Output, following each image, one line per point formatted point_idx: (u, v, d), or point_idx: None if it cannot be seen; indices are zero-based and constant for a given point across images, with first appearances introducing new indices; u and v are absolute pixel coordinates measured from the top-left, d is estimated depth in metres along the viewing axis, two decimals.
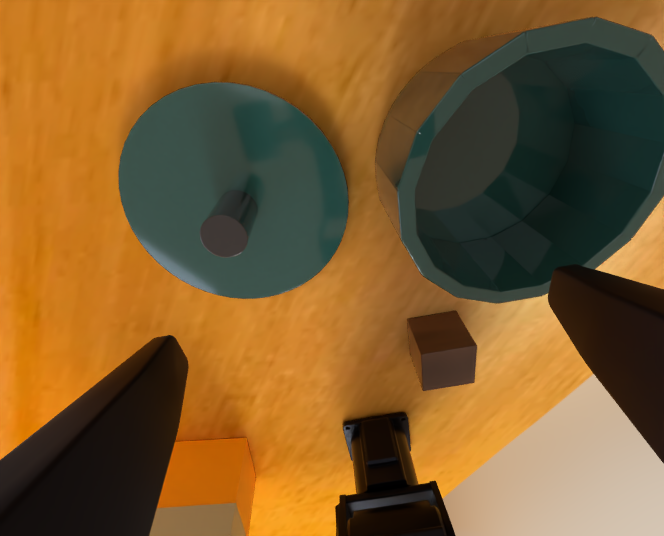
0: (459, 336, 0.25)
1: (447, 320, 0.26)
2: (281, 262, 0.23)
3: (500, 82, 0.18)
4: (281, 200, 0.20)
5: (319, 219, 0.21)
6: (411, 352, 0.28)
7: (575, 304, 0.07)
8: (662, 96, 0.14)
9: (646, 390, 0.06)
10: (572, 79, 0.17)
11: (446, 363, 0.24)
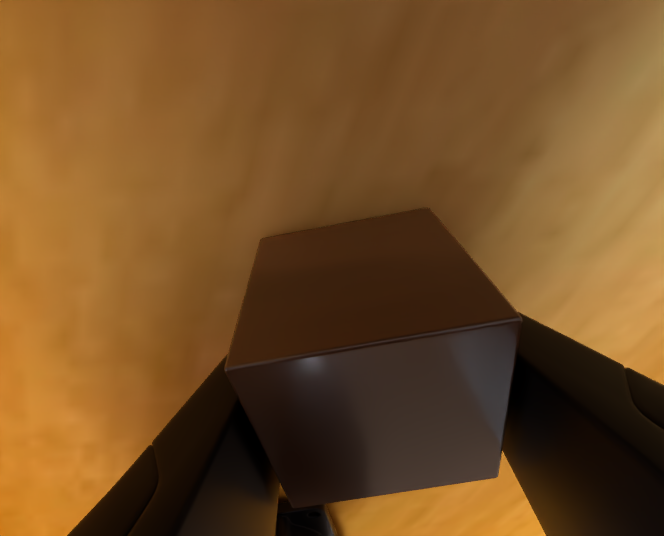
0: (433, 278, 0.05)
1: (394, 232, 0.07)
2: None
3: None
4: None
5: None
6: None
7: None
8: None
9: None
10: None
11: (367, 409, 0.05)
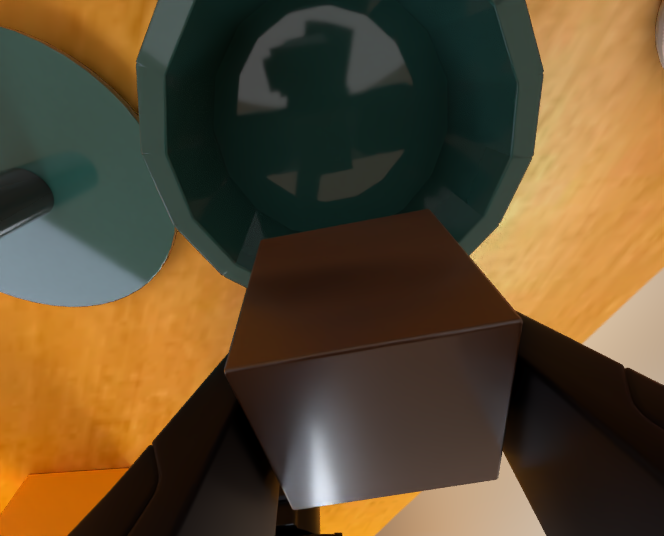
0: (433, 281, 0.05)
1: (394, 233, 0.07)
2: (104, 261, 0.18)
3: (338, 23, 0.14)
4: (80, 181, 0.16)
5: (138, 206, 0.17)
6: None
7: None
8: (494, 8, 0.09)
9: None
10: (422, 14, 0.13)
11: (367, 412, 0.05)
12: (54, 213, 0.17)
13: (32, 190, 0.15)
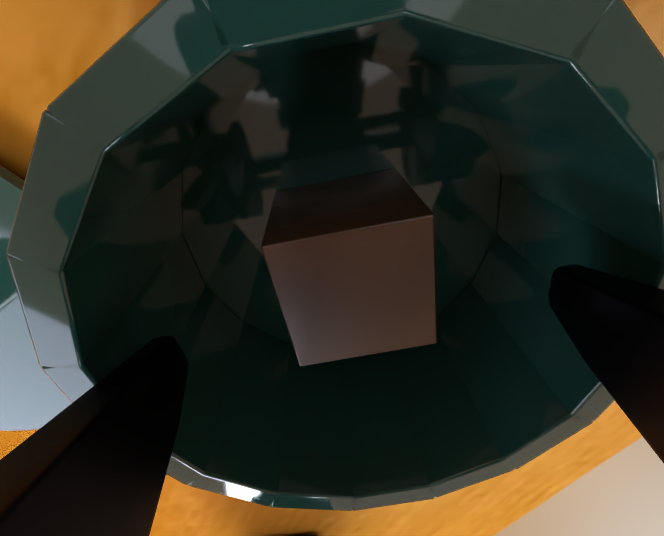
0: (389, 202, 0.08)
1: (369, 182, 0.10)
2: (48, 385, 0.14)
3: (354, 105, 0.10)
4: (5, 302, 0.12)
5: None
6: None
7: (575, 304, 0.07)
8: (650, 163, 0.05)
9: (646, 390, 0.06)
10: (480, 101, 0.09)
11: (346, 280, 0.08)
12: None
13: None
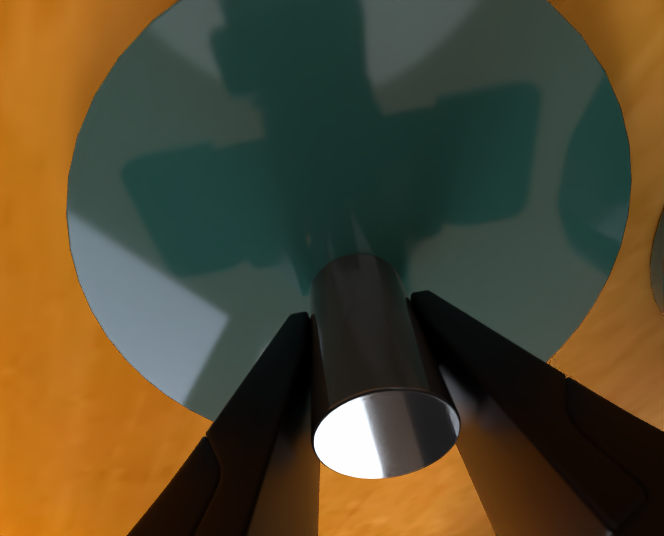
0: None
1: None
2: None
3: None
4: (460, 274, 0.09)
5: (531, 311, 0.09)
6: None
7: None
8: None
9: None
10: None
11: None
12: None
13: (410, 303, 0.08)
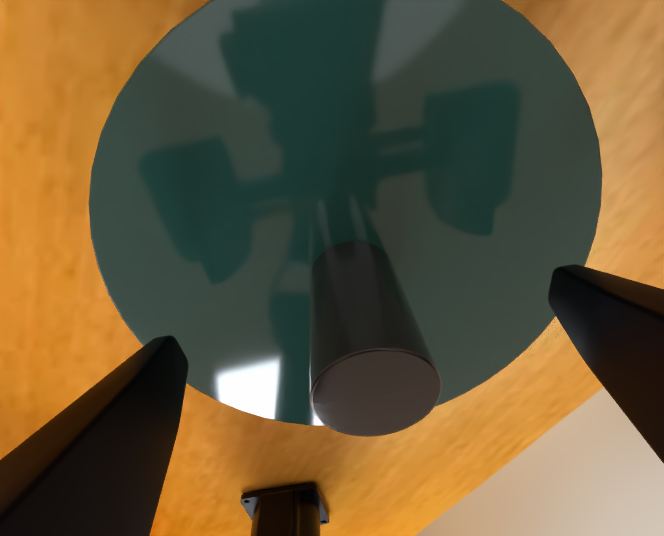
0: None
1: None
2: None
3: None
4: (448, 260, 0.09)
5: (514, 295, 0.10)
6: None
7: (575, 304, 0.07)
8: None
9: (646, 390, 0.06)
10: None
11: None
12: None
13: (401, 285, 0.08)
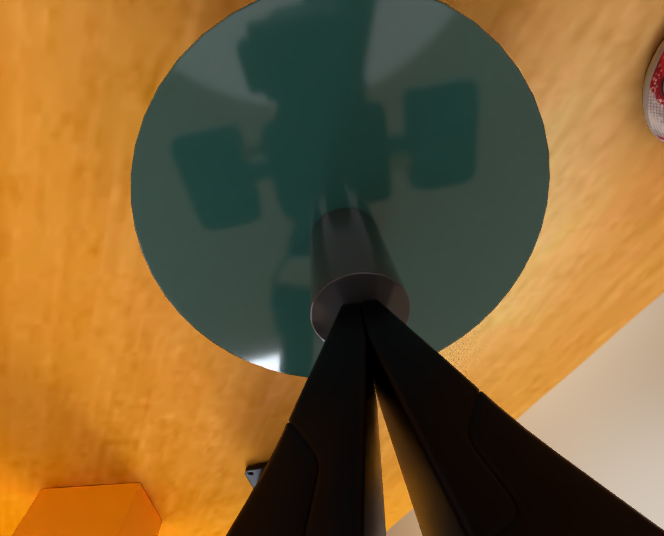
0: None
1: None
2: None
3: None
4: (425, 225, 0.11)
5: (482, 257, 0.12)
6: None
7: None
8: None
9: (393, 430, 0.06)
10: None
11: None
12: None
13: None
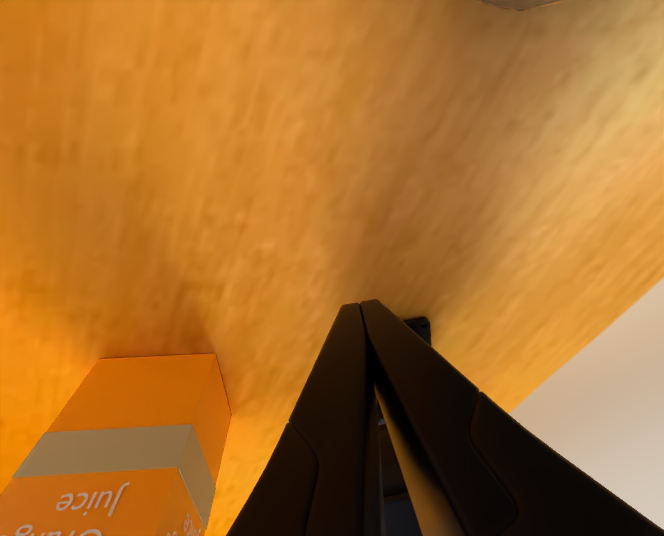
0: None
1: None
2: None
3: None
4: None
5: None
6: None
7: None
8: None
9: (393, 430, 0.06)
10: None
11: None
12: None
13: None
